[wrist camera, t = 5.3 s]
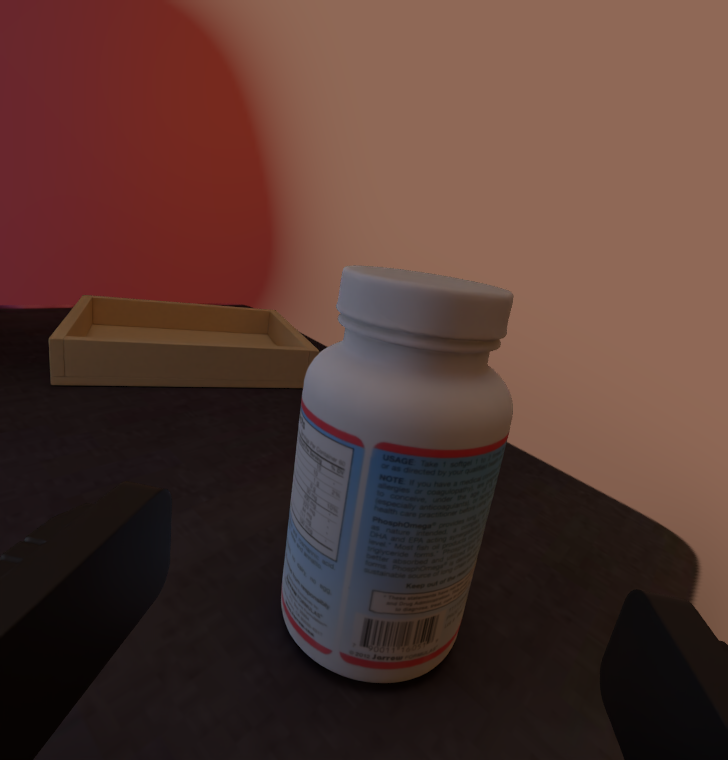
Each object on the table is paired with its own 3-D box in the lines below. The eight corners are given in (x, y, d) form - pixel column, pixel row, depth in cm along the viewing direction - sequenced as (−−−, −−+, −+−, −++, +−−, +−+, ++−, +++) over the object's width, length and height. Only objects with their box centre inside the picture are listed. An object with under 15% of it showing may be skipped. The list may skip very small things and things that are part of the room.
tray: (273, 338, 51) (275, 310, 50) (314, 388, 37) (319, 350, 36) (83, 328, 44) (82, 294, 43) (50, 385, 30) (48, 338, 29)
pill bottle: (463, 582, 18) (538, 290, 15) (443, 728, 13) (555, 310, 9) (318, 535, 20) (357, 259, 16) (241, 647, 14) (277, 260, 11)
